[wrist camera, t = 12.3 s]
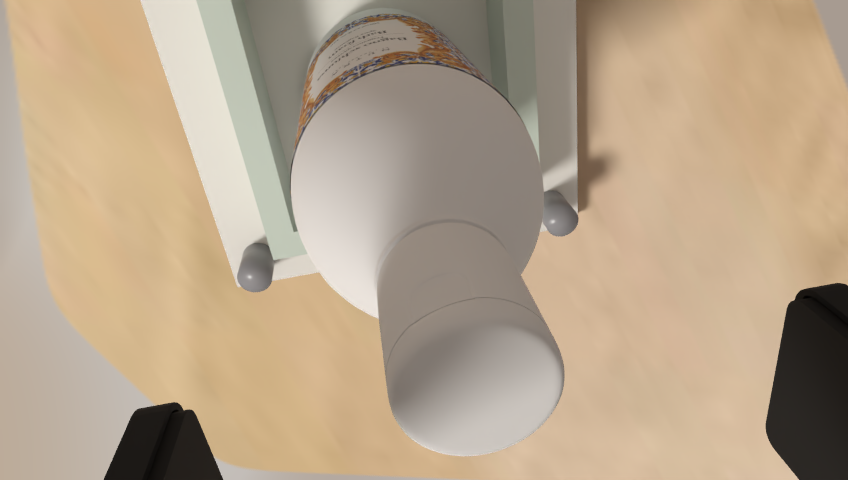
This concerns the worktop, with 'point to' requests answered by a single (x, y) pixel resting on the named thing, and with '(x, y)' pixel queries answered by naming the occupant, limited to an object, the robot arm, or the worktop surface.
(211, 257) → the worktop surface
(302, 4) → the dock
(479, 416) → the bath foam
